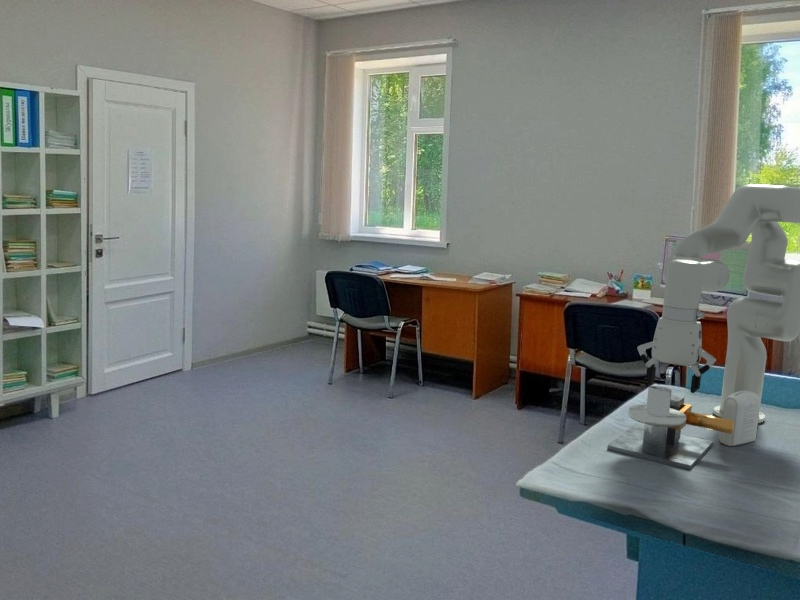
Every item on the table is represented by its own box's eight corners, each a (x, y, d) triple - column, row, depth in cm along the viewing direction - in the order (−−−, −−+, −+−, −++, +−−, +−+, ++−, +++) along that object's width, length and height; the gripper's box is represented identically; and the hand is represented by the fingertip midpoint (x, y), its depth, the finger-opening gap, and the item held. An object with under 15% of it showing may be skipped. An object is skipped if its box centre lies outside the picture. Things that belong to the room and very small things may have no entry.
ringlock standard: (635, 427, 185) (641, 368, 183) (734, 450, 172) (742, 387, 170) (604, 451, 167) (610, 386, 165) (711, 478, 154) (720, 408, 152)
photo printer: (741, 435, 183) (747, 386, 181) (758, 441, 180) (764, 391, 178) (716, 442, 177) (722, 391, 175) (732, 448, 174) (739, 396, 172)
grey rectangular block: (662, 434, 178) (666, 393, 176) (679, 438, 176) (684, 396, 174) (656, 439, 174) (660, 397, 172) (674, 443, 172) (678, 401, 170)
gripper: (724, 317, 169) (715, 391, 171) (646, 307, 178) (639, 377, 181) (716, 322, 162) (707, 398, 165) (636, 311, 172) (629, 383, 175)
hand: (672, 387), depth 173 cm, fingers open, 9 cm apart
